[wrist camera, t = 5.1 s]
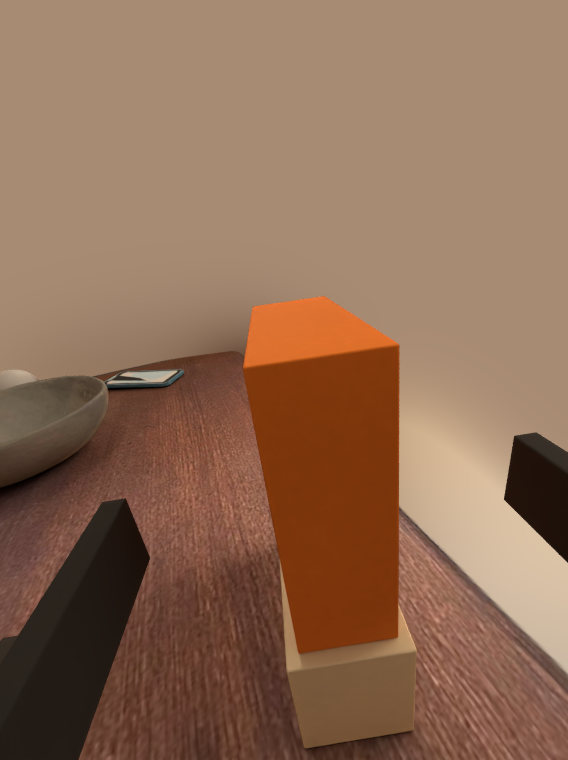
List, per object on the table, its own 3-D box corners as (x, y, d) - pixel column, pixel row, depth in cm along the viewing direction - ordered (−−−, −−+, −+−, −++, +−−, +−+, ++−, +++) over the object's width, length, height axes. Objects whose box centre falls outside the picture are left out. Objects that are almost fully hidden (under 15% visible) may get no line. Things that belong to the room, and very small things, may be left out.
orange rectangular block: (399, 638, 12) (400, 343, 8) (298, 654, 12) (242, 367, 8) (339, 474, 22) (325, 295, 17) (282, 482, 22) (252, 306, 17)
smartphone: (166, 383, 59) (98, 385, 62) (167, 388, 59) (99, 389, 63) (185, 368, 66) (122, 371, 69) (186, 373, 66) (123, 375, 69)
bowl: (93, 409, 54) (76, 365, 51) (150, 446, 40) (130, 389, 37) (-83, 480, 40) (-122, 426, 37) (-88, 572, 26) (-150, 498, 23)
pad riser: (414, 731, 14) (417, 650, 12) (303, 749, 14) (286, 672, 12) (349, 531, 24) (345, 468, 22) (285, 541, 24) (274, 479, 22)
